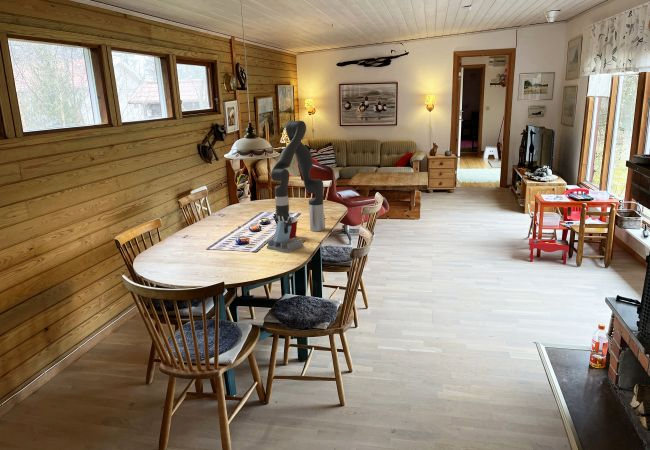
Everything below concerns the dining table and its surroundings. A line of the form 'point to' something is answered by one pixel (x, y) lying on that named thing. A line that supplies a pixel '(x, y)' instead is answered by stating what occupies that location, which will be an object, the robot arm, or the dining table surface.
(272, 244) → the dish rack
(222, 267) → the dining table surface
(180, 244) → the dining table surface
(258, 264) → the dining table surface
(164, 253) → the dining table surface
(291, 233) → the plastic cup
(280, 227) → the rectangular block
